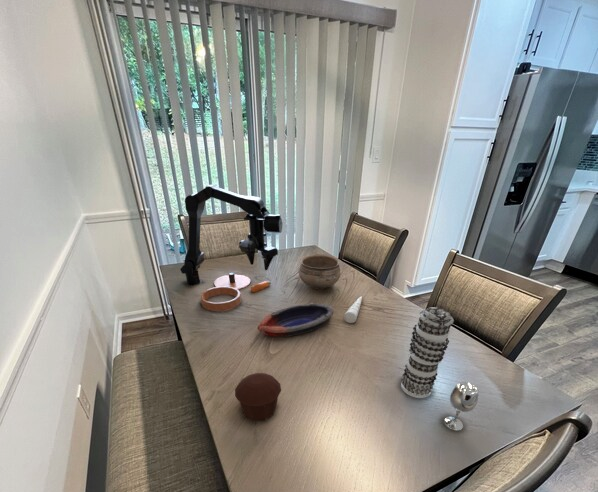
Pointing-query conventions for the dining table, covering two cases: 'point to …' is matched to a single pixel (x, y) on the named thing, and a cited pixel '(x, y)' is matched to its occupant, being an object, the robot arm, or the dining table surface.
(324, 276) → the cooking pot
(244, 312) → the dining table surface
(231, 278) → the lid
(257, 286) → the carrot
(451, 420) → the wineglass
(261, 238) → the robot arm
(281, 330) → the dish
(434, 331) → the decorative candle
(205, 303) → the faceted terracotta bowl
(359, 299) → the unicorn horn
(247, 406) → the muffin
